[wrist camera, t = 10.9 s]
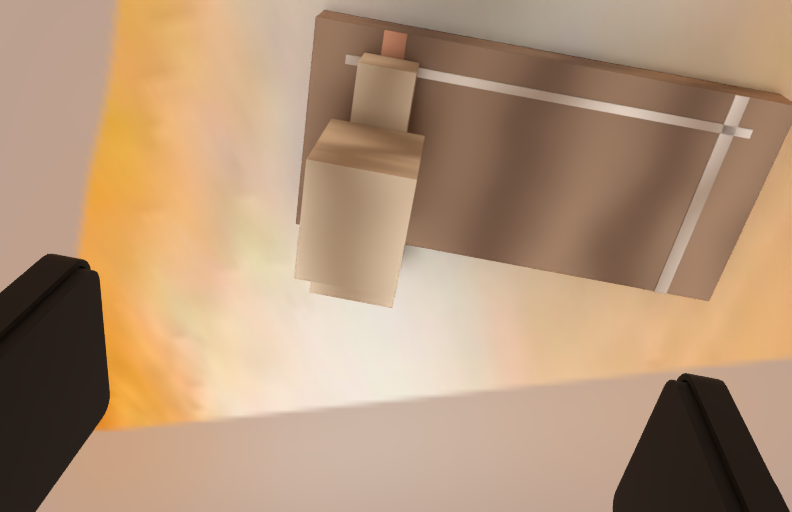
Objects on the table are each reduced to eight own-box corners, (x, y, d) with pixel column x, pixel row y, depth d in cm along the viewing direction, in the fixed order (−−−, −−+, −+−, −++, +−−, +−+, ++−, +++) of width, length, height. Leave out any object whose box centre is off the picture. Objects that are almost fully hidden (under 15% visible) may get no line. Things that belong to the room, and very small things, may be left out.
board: (780, 94, 30) (800, 107, 28) (696, 280, 35) (709, 302, 33) (324, 10, 30) (315, 17, 28) (304, 207, 35) (295, 224, 33)
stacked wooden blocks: (439, 55, 30) (429, 111, 22) (400, 262, 35) (381, 367, 27) (353, 39, 30) (313, 89, 22) (327, 248, 35) (287, 349, 27)
